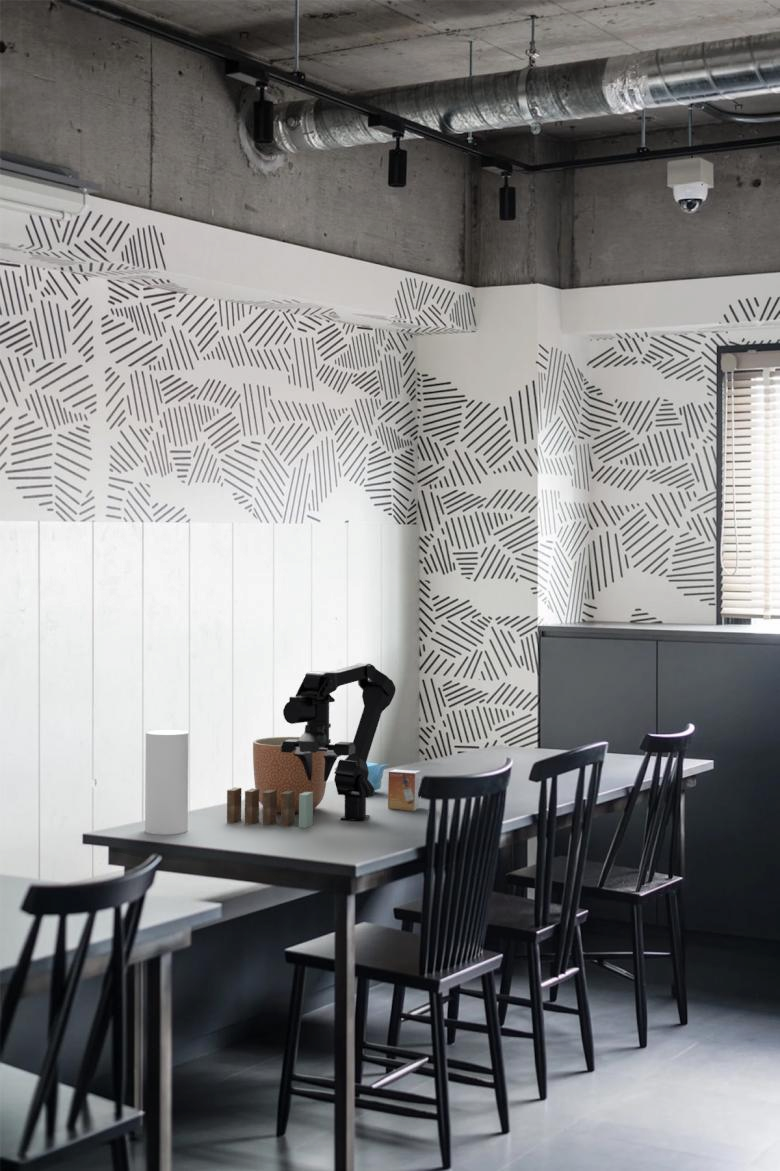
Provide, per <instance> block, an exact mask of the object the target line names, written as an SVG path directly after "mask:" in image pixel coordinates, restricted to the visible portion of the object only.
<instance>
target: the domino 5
mask: <svg viewBox="0 0 780 1171" xmlns="http://www.w3.org/2000/svg"><path fill="white" fill-rule="evenodd" d="M313 812H314V809H313V792H304V793H302V794H299V813H298V828H301V829H303V828H304V829H307V828H309V827H311V826H312V825H314V822H313V820H314V817H313V816H314V813H313Z"/></svg>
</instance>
